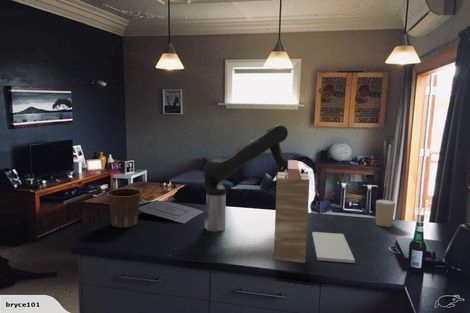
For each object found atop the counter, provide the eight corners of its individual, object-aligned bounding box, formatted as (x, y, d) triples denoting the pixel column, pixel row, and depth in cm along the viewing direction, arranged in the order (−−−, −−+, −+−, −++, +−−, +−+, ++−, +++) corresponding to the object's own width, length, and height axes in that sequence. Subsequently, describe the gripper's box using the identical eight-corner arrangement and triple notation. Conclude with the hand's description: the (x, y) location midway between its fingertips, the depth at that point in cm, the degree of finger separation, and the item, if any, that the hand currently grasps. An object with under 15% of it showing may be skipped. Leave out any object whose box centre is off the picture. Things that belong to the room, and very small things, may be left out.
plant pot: (146, 226, 177) (146, 193, 175) (113, 231, 168) (112, 197, 166) (135, 217, 191) (135, 187, 189) (103, 222, 182) (102, 190, 180)
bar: (298, 179, 134) (299, 169, 134) (287, 179, 135) (288, 168, 135) (297, 169, 158) (297, 160, 158) (287, 169, 159) (288, 159, 158)
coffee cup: (395, 223, 191) (396, 201, 189) (391, 228, 183) (393, 205, 181) (376, 220, 195) (377, 198, 194) (372, 225, 188) (374, 202, 186)
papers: (158, 203, 215) (159, 198, 214) (204, 216, 205) (205, 209, 204) (133, 214, 192) (133, 208, 191) (183, 228, 182) (184, 221, 182)
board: (354, 263, 140) (354, 260, 140) (317, 260, 142) (317, 257, 142) (343, 236, 169) (343, 234, 169) (312, 234, 171) (312, 231, 171)
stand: (305, 262, 139) (309, 176, 135) (273, 260, 141) (276, 175, 136) (303, 248, 153) (307, 170, 149) (274, 246, 154) (277, 169, 150)
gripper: (276, 174, 177) (276, 161, 162) (306, 175, 175) (309, 162, 160) (275, 189, 174) (275, 177, 159) (306, 190, 172) (308, 179, 158)
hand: (292, 170), depth 160 cm, fingers open, 8 cm apart
